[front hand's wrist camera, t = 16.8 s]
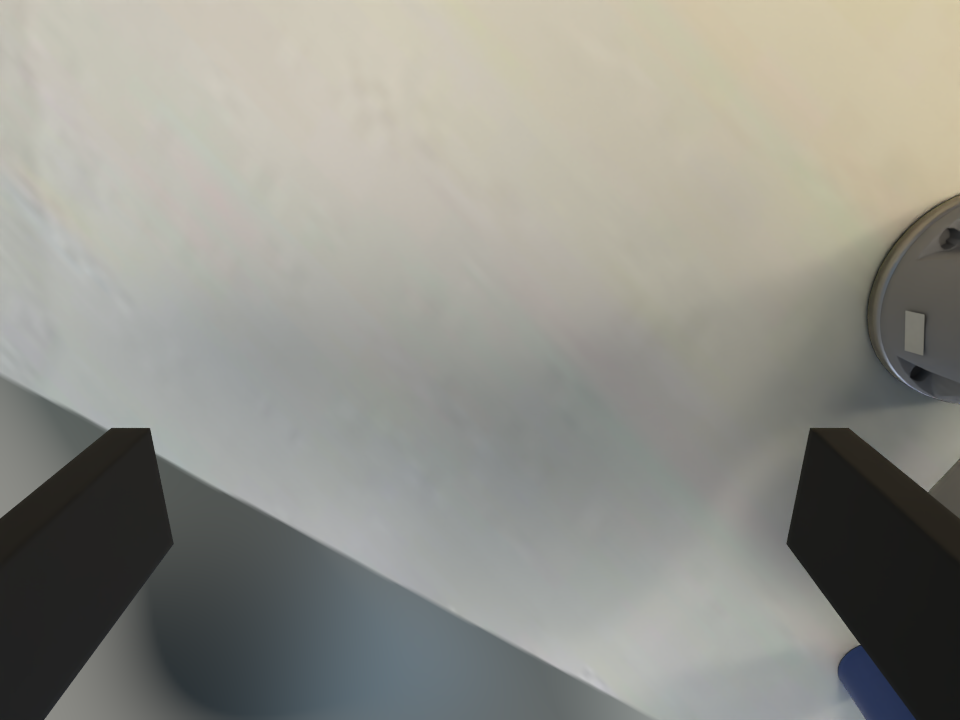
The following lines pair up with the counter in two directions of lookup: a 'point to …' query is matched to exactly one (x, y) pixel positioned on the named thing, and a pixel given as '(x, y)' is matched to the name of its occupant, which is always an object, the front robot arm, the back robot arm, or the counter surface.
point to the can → (870, 688)
